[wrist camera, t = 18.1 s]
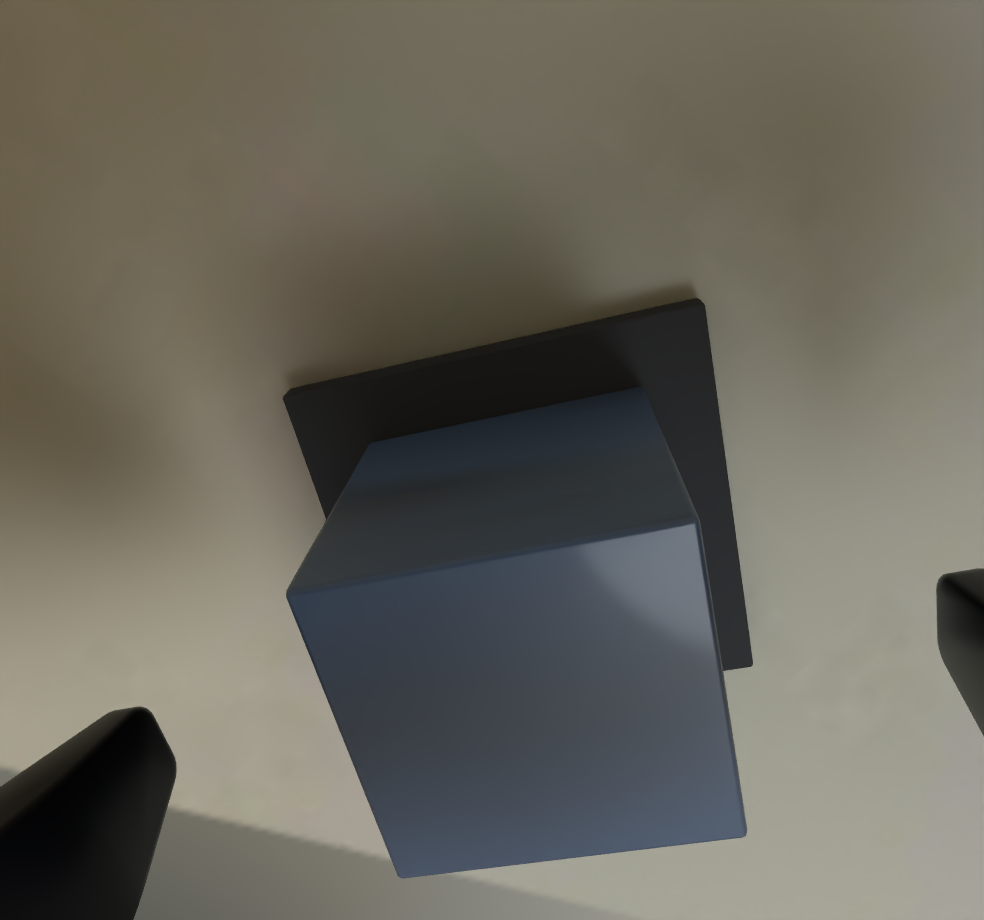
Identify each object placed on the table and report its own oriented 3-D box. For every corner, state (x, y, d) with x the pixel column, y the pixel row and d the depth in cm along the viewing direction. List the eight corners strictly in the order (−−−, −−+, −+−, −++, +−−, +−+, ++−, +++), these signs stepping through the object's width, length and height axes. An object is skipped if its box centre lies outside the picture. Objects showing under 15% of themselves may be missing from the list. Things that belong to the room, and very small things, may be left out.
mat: (747, 652, 12) (754, 667, 12) (402, 705, 13) (398, 721, 13) (699, 297, 10) (705, 302, 10) (289, 388, 11) (280, 396, 11)
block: (683, 623, 12) (749, 839, 8) (439, 662, 12) (397, 881, 9) (642, 384, 10) (700, 517, 7) (368, 442, 11) (281, 592, 7)
